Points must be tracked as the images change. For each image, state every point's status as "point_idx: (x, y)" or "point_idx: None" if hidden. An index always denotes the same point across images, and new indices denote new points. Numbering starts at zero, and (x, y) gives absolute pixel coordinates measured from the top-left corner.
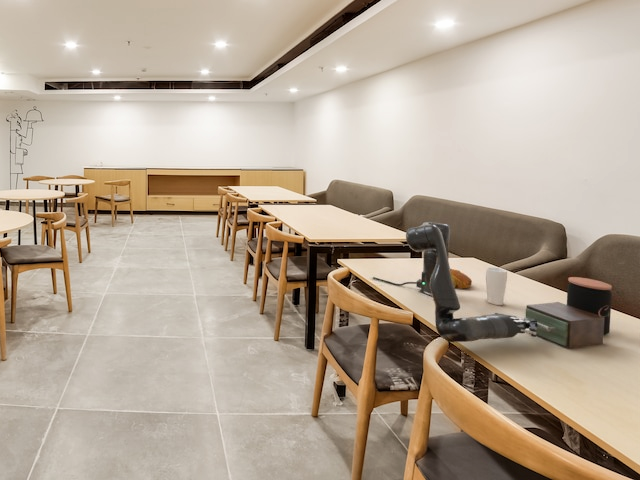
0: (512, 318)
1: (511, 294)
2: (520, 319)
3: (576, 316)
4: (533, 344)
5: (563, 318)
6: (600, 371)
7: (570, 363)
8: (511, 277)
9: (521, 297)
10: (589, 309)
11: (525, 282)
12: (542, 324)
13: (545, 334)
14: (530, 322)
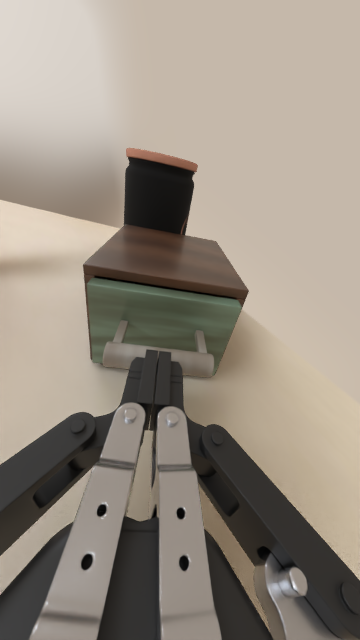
0: (96, 585)
1: (11, 232)
2: (132, 441)
3: (210, 259)
4: None
5: (224, 286)
6: (356, 450)
7: (333, 506)
8: (4, 203)
9: (30, 234)
10: (171, 229)
11: (26, 208)
12: (186, 353)
13: None
14: (173, 401)
